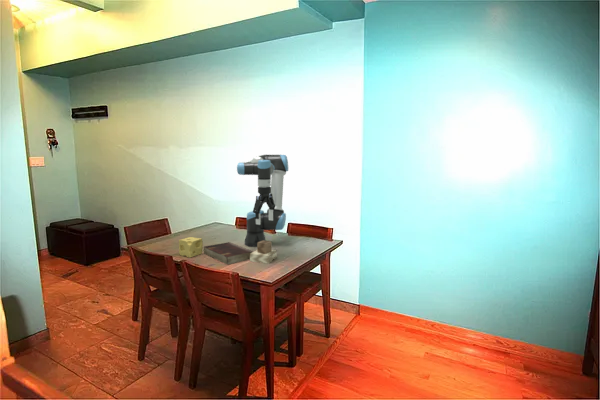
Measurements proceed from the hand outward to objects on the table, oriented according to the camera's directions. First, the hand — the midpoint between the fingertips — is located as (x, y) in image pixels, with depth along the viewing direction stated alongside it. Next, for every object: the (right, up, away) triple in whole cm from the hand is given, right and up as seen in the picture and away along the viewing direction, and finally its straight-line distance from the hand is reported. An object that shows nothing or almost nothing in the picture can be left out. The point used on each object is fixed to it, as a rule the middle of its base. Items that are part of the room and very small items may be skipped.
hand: (264, 222), depth 208 cm
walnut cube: (0, -18, +2) cm, 18 cm away
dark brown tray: (-23, -22, +10) cm, 34 cm away
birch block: (-1, -23, +3) cm, 23 cm away
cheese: (-47, -21, +12) cm, 53 cm away
